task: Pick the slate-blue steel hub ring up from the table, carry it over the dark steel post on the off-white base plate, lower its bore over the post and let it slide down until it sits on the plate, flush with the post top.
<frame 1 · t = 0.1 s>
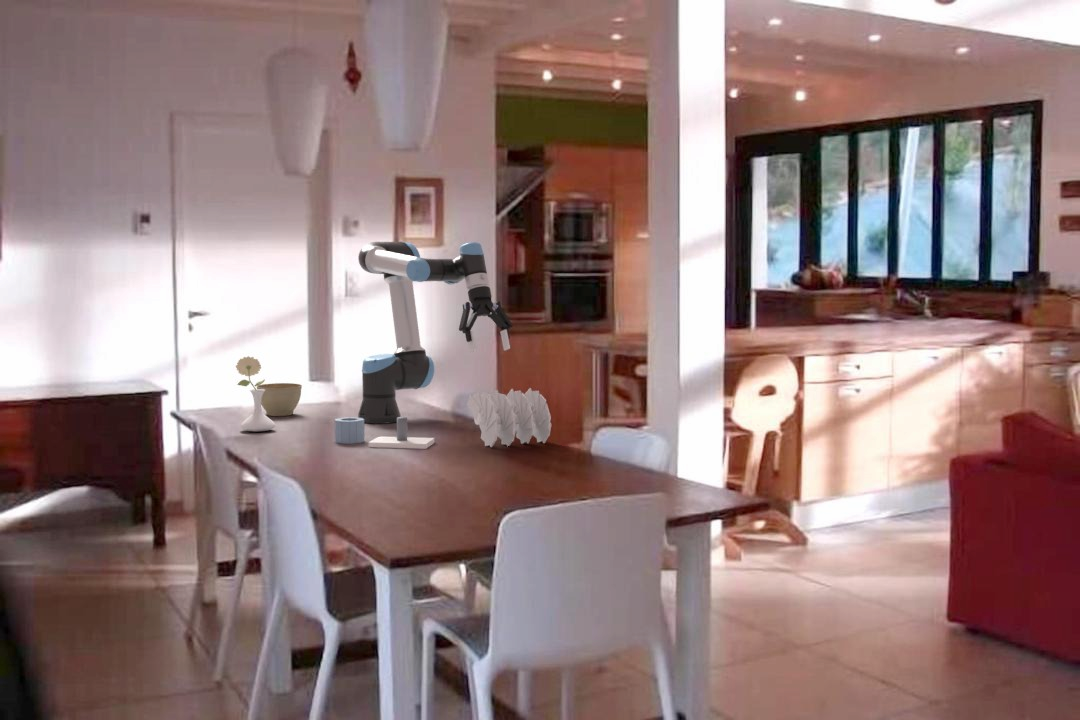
hand: (490, 350, 390), 28 cm above the table, fingers open, 13 cm apart
planter bowl: (279, 415, 436), on the table
flower in vase: (255, 431, 396), on the table
hub ring: (349, 441, 375), on the table
post stand: (402, 444, 369), on the table
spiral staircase: (512, 445, 370), on the table
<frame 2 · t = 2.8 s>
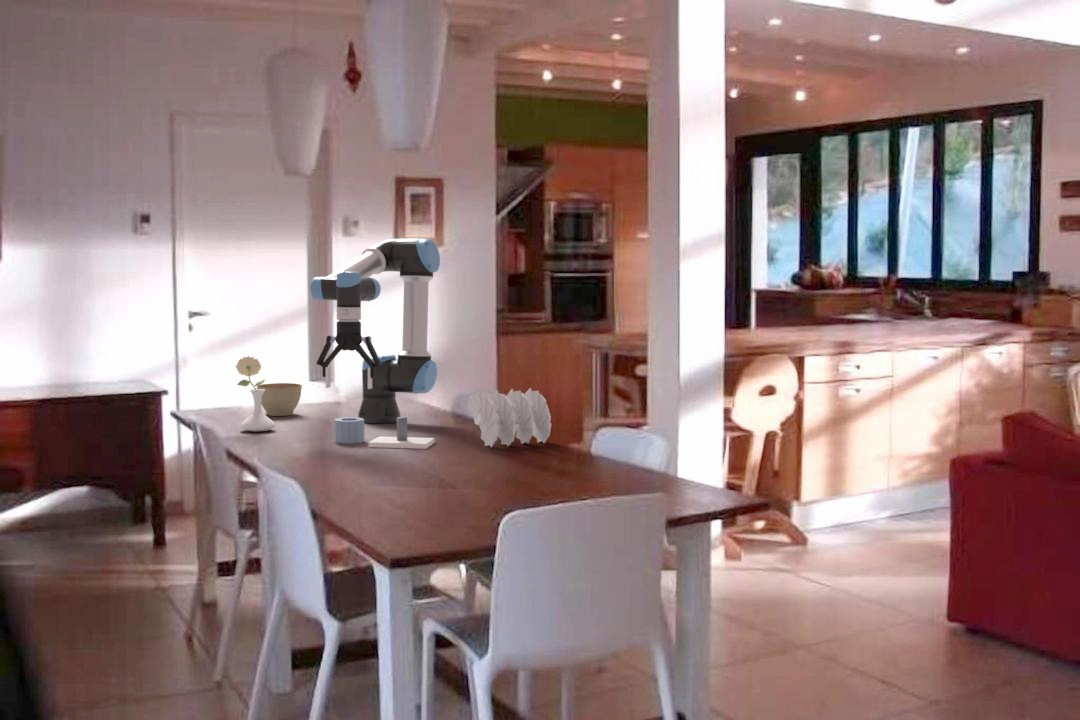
hand: (348, 388, 373), 17 cm above the table, fingers open, 13 cm apart
nothing on the table moved.
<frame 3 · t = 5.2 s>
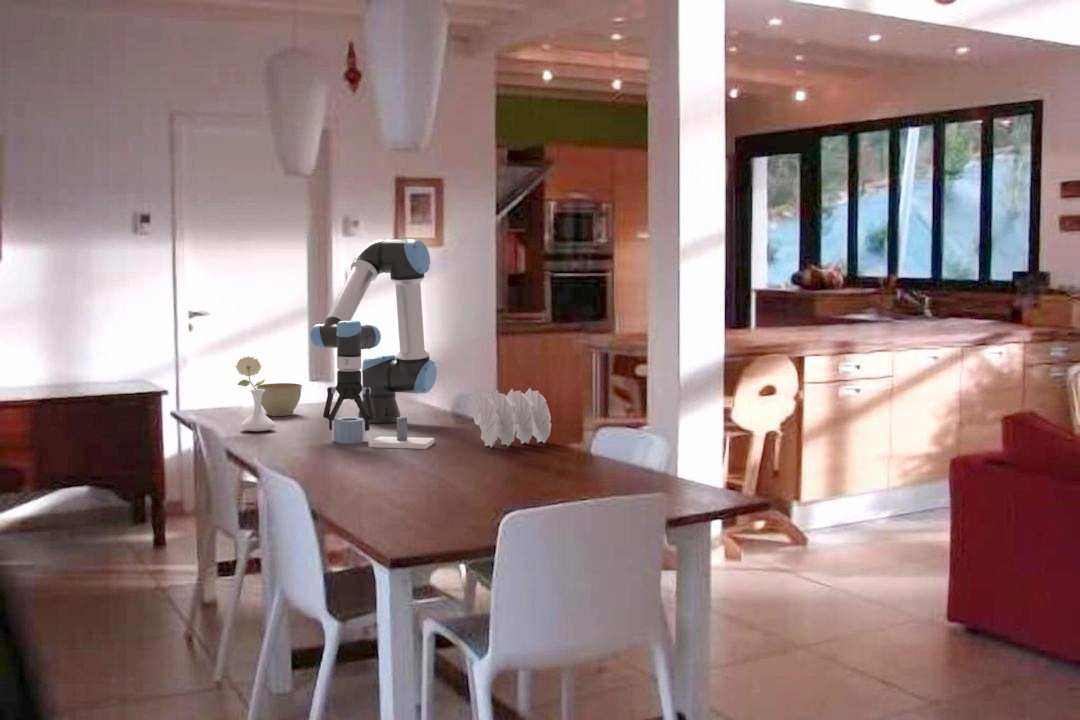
hand: (349, 440, 375), 0 cm above the table, fingers closed on hub ring, 9 cm apart
hub ring: (349, 441, 375), on the table, touching gripper
everything else where it was.
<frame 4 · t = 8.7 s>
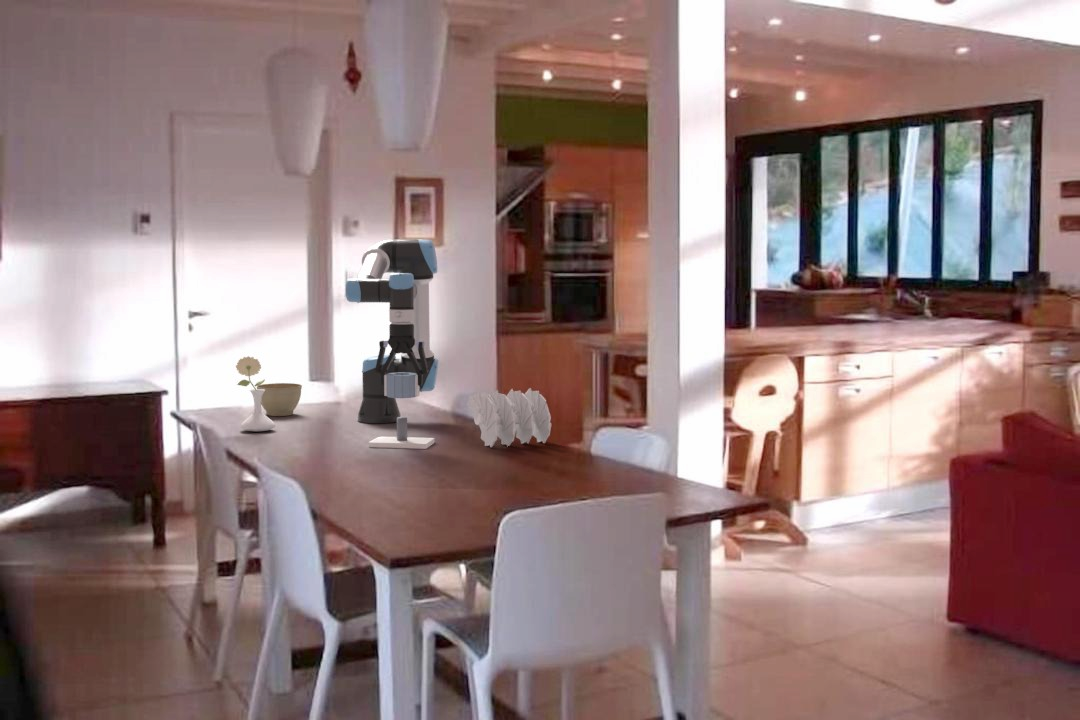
hand: (401, 395, 368), 15 cm above the table, fingers closed on hub ring, 9 cm apart
hub ring: (402, 396, 368), point 15 cm above the table, touching gripper
everything else where it was.
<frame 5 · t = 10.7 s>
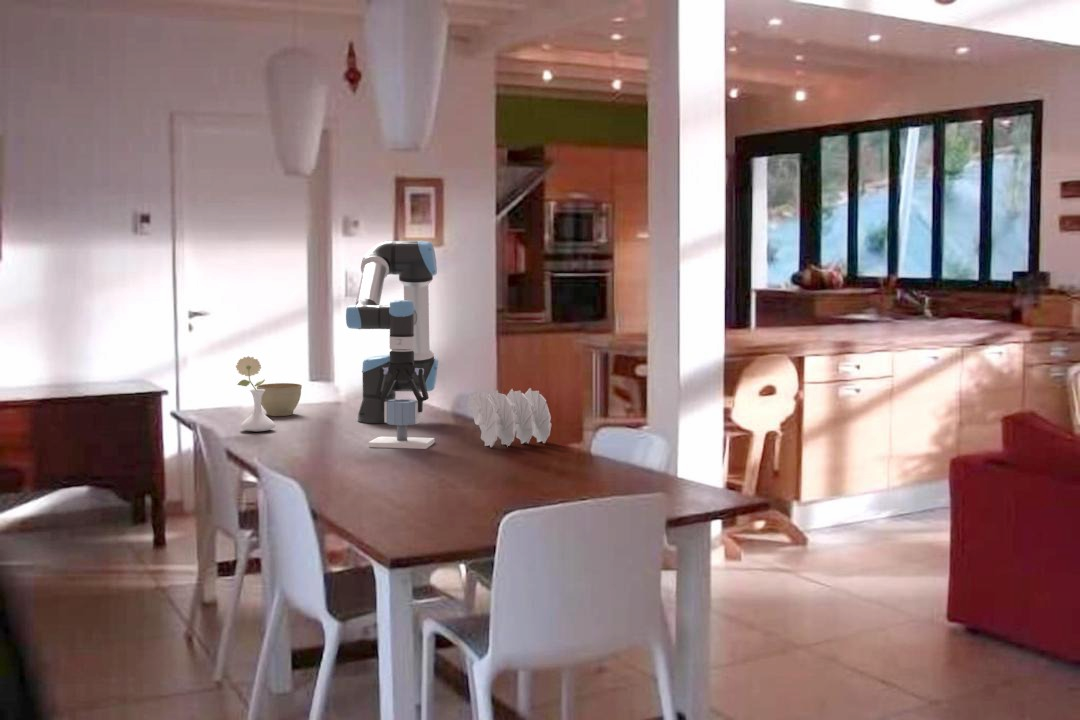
hand: (402, 422, 368), 7 cm above the table, fingers closed on hub ring, 9 cm apart
hub ring: (402, 423, 368), point 7 cm above the table, touching gripper
everything else where it was.
when the fingers open (3 cm above the table, at t = 12.5 s): hub ring drops 2 cm, resting on post stand.
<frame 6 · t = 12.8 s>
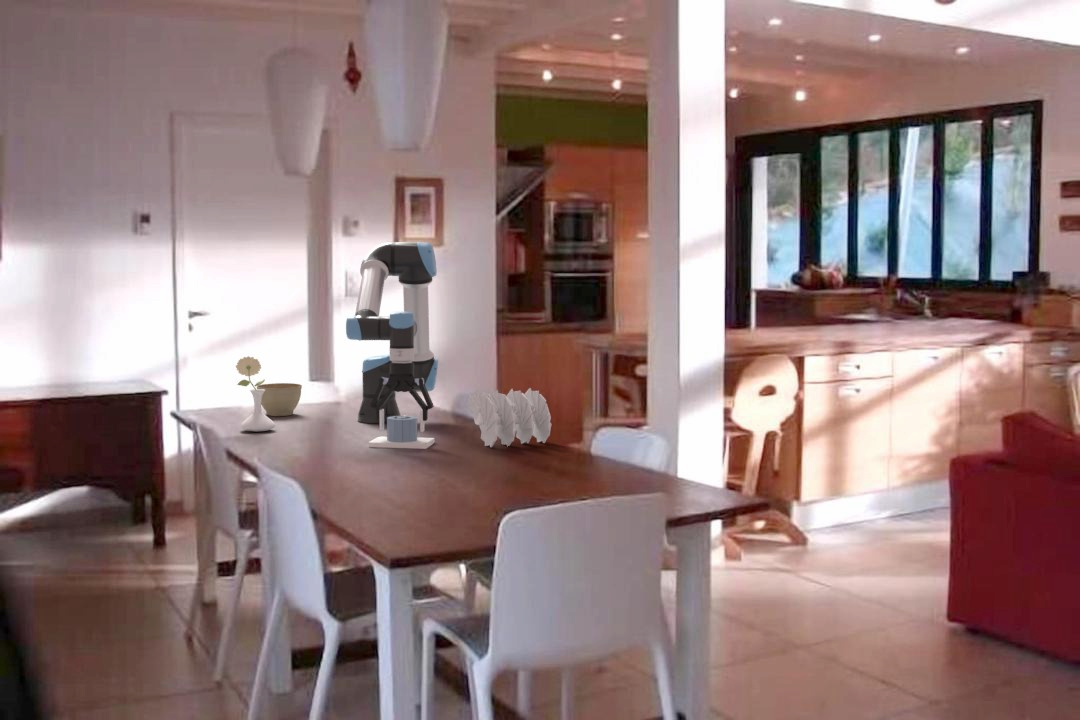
hand: (402, 430, 368), 4 cm above the table, fingers open, 12 cm apart
hub ring: (402, 440, 369), point 1 cm above the table, touching post stand
everything else where it was.
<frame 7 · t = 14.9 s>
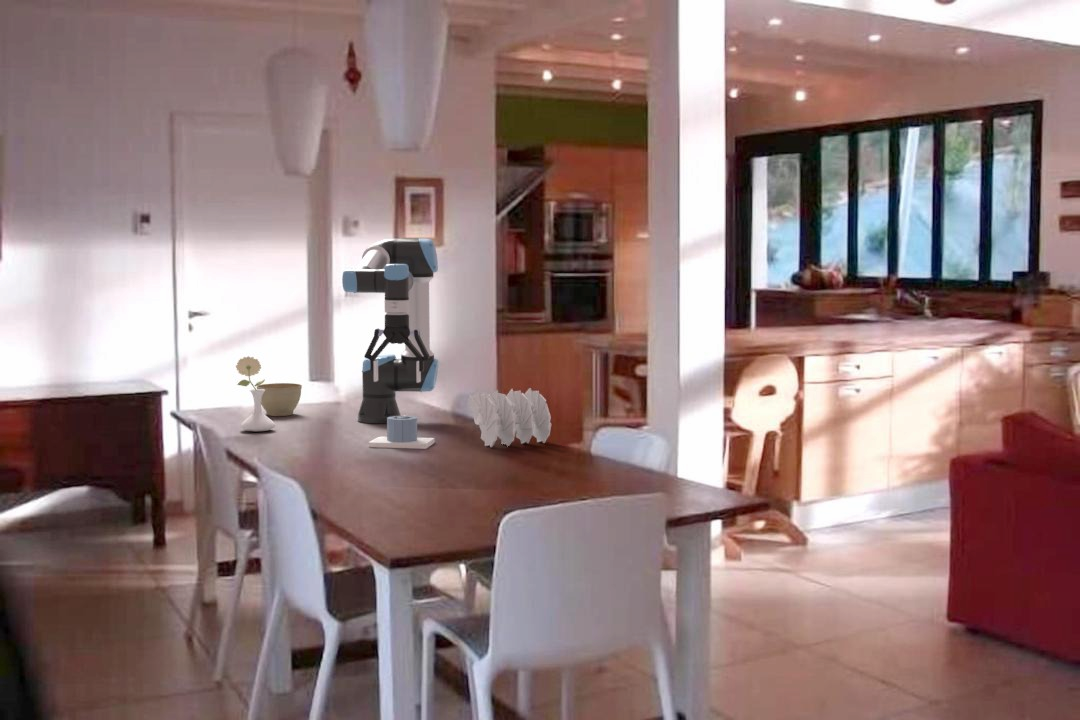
hand: (397, 381, 370), 19 cm above the table, fingers open, 13 cm apart
nothing on the table moved.
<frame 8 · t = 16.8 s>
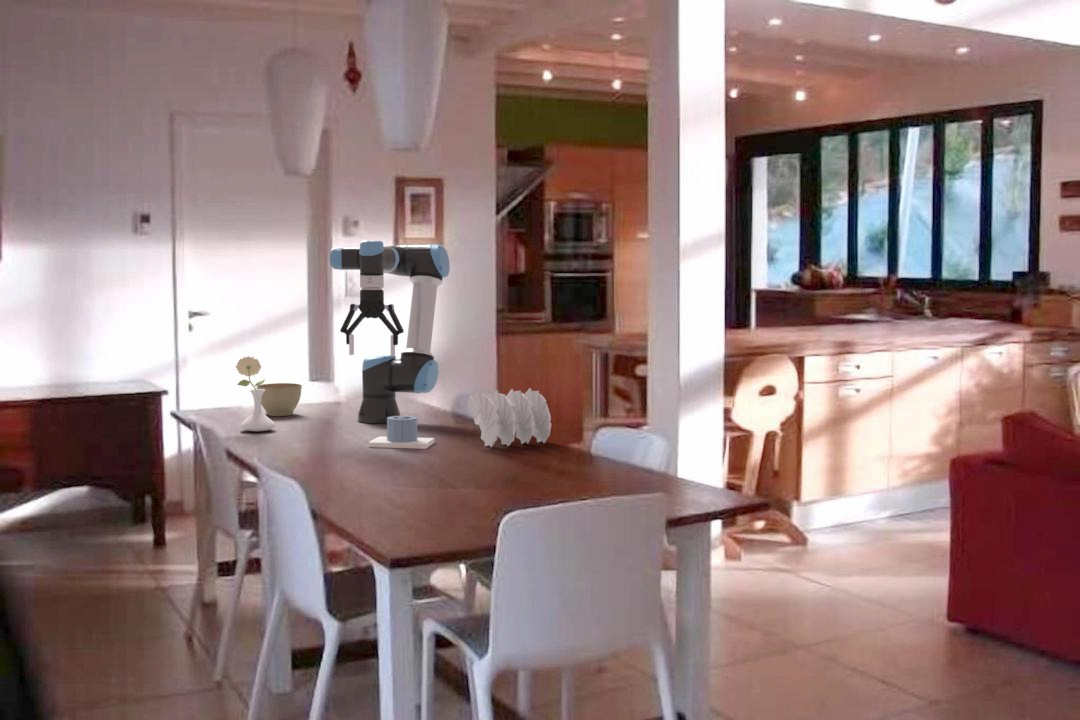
hand: (372, 355, 381), 27 cm above the table, fingers open, 13 cm apart
nothing on the table moved.
at the end: hub ring 0.1 cm off-centre on the post stand, point 1.5 cm above the post stand's base; hub ring tilted 0°; the gripper is holding nothing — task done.
